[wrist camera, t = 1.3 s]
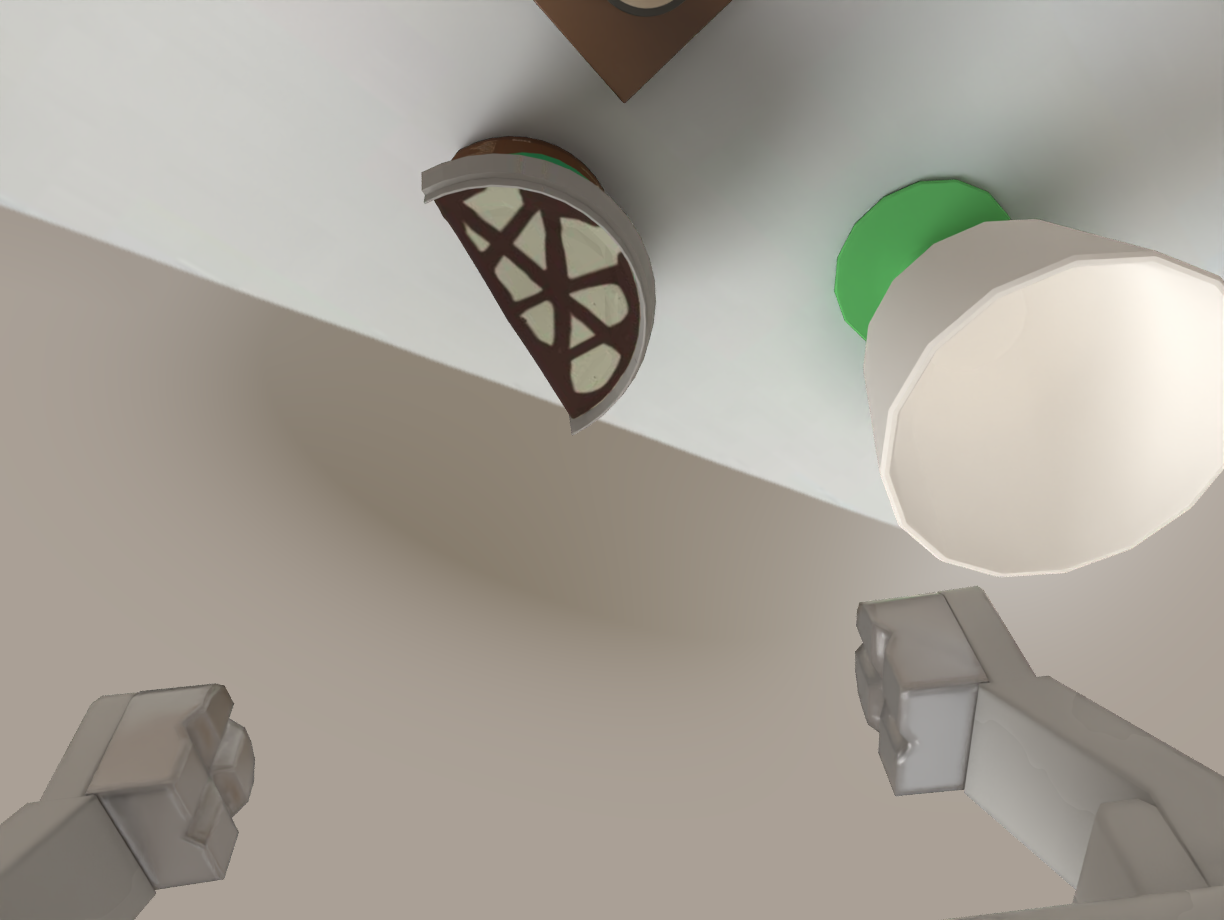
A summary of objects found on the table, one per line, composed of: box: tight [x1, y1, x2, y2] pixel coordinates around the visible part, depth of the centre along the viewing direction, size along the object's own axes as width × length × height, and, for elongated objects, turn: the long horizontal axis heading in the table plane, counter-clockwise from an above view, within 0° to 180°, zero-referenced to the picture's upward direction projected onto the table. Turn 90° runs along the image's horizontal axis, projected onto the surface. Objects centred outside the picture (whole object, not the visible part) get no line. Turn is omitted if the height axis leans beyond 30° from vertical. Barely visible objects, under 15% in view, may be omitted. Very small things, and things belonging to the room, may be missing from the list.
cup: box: [834, 179, 1224, 577], centre depth 41 cm, size 14×14×16 cm
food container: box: [422, 136, 656, 435], centre depth 41 cm, size 12×6×10 cm, turn 27°
